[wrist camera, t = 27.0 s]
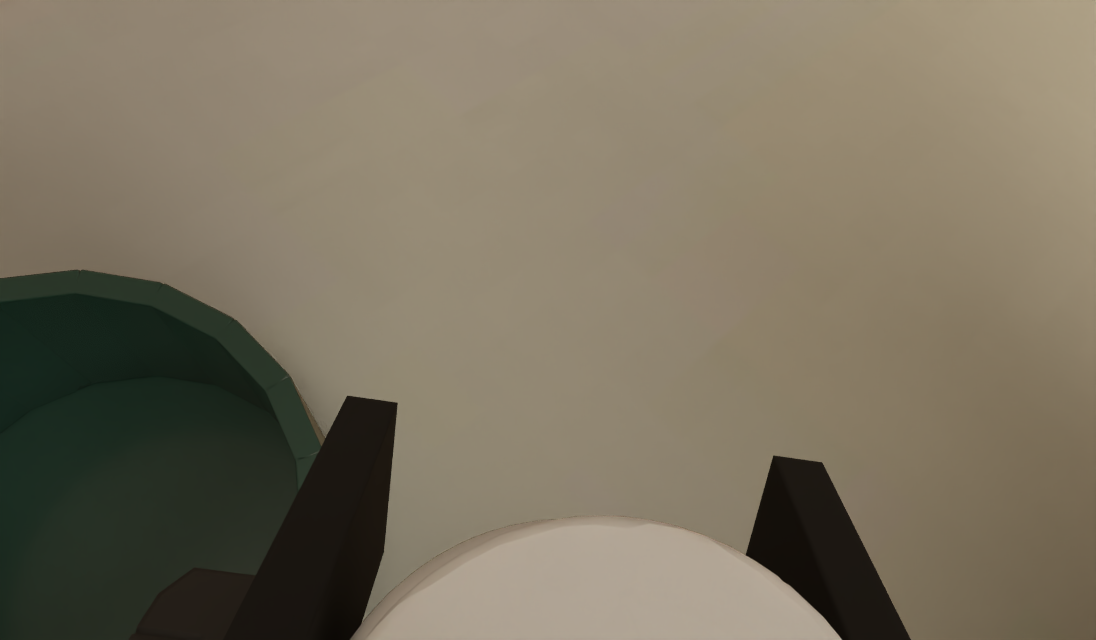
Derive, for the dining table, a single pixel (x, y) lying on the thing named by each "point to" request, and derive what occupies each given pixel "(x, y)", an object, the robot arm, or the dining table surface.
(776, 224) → the dining table surface
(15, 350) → the pot
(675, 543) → the pill bottle
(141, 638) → the robot arm
